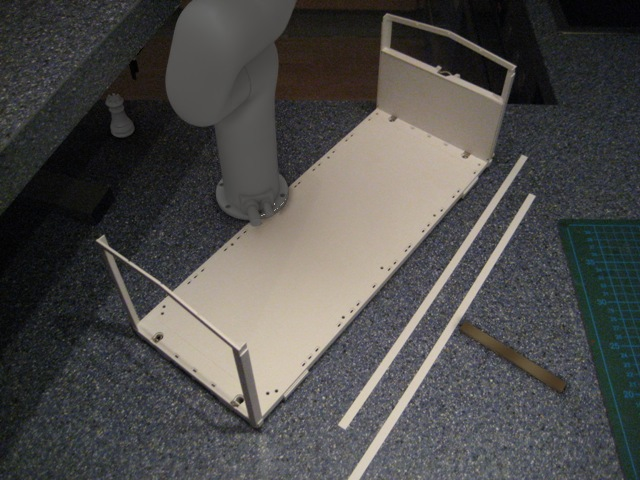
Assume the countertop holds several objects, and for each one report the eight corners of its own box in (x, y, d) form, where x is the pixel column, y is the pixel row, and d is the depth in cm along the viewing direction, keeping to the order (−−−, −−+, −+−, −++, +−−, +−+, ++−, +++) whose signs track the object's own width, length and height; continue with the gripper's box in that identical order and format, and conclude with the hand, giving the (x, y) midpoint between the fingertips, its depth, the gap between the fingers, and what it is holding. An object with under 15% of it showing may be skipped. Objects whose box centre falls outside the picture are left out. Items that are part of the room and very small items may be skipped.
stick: (565, 385, 86) (567, 383, 85) (560, 393, 85) (561, 391, 84) (464, 322, 92) (465, 320, 92) (458, 330, 91) (459, 327, 91)
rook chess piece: (132, 139, 119) (122, 105, 112) (109, 138, 119) (98, 104, 112) (137, 124, 121) (128, 90, 115) (114, 123, 121) (104, 89, 115)
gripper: (23, 8, 94) (57, 100, 108) (139, -7, 98) (158, 84, 111) (23, -16, 99) (55, 75, 112) (133, -29, 102) (152, 60, 116)
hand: (106, 79), depth 112 cm, fingers open, 9 cm apart
